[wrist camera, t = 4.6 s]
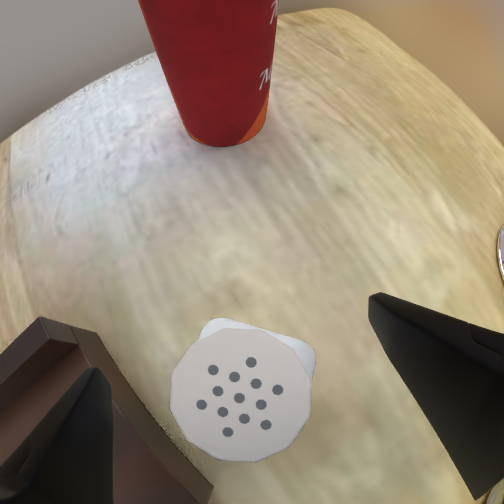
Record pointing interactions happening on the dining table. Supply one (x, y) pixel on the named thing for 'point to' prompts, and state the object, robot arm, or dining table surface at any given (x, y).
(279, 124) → the dining table surface
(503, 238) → the wineglass
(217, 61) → the coffee cup
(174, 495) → the spice rack
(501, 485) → the bread roll
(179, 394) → the pepper shaker
